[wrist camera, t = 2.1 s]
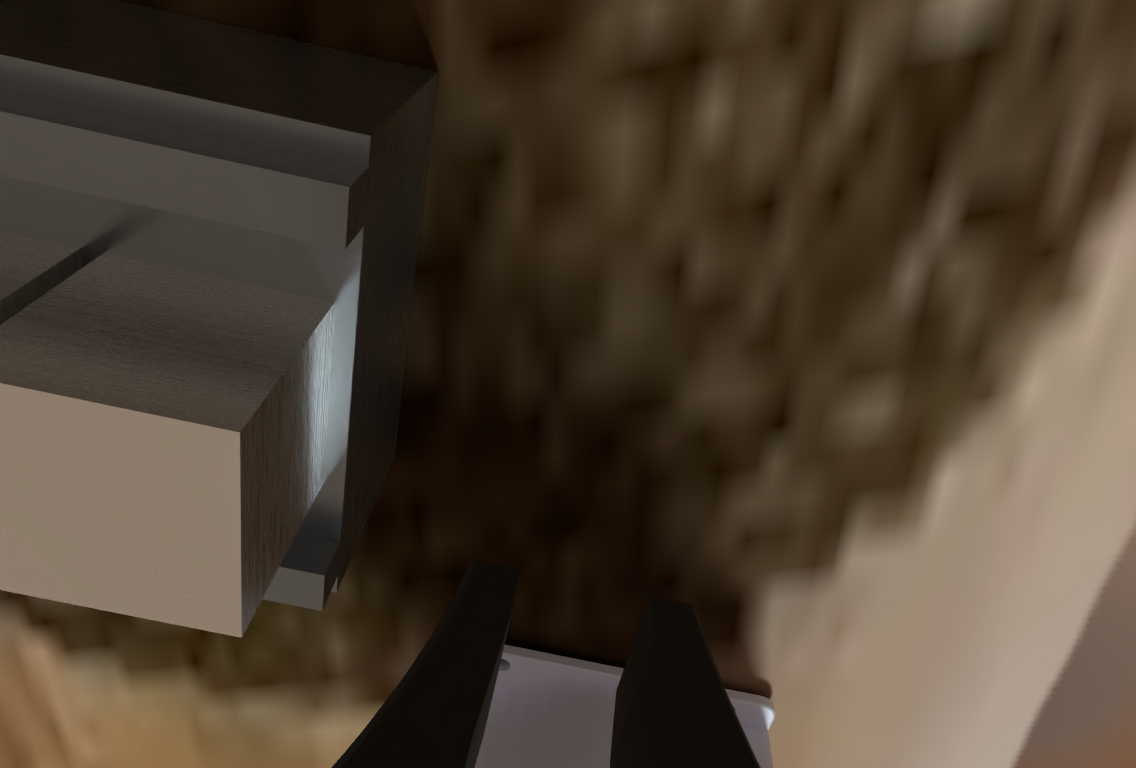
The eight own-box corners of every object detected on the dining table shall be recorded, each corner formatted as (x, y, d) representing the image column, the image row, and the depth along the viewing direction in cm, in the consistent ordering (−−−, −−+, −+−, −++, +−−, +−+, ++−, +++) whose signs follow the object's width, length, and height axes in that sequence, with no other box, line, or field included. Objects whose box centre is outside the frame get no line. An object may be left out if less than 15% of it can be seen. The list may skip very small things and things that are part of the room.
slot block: (438, 72, 17) (350, 153, 12) (394, 456, 22) (321, 627, 17) (-2, -27, 17) (-281, 15, 12) (57, 386, 22) (-120, 540, 17)
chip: (335, 302, 15) (240, 432, 11) (324, 481, 17) (241, 638, 13) (104, 252, 14) (-65, 370, 11) (122, 439, 17) (-15, 587, 13)
